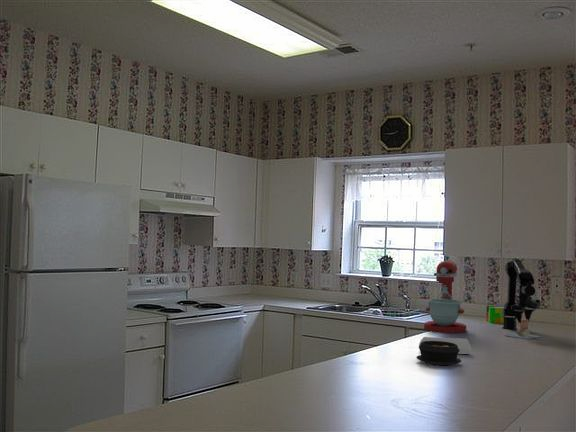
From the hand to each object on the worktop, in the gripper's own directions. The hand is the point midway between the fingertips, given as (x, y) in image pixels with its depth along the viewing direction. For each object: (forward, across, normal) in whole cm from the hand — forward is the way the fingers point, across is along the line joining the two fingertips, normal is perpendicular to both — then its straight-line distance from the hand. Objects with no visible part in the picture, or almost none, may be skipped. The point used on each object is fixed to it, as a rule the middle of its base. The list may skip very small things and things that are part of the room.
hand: (523, 322), depth 343 cm
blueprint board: (+8, 0, 0) cm, 8 cm away
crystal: (+8, -82, -4) cm, 83 cm away
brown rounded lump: (+3, 0, 0) cm, 3 cm away
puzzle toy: (+8, +42, +40) cm, 59 cm away
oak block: (+7, 0, 0) cm, 7 cm away
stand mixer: (+8, -18, +39) cm, 44 cm away
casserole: (+8, -106, -16) cm, 107 cm away
